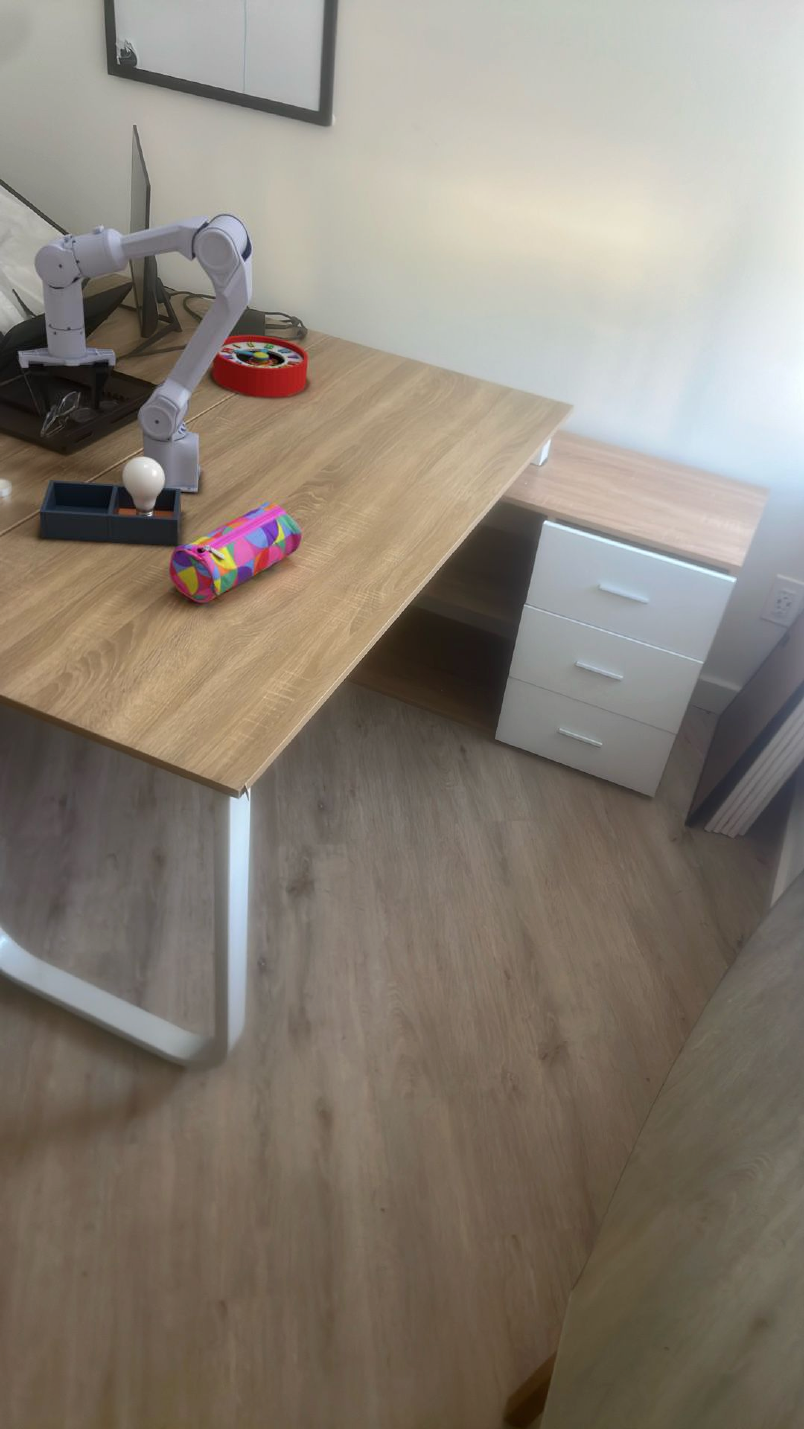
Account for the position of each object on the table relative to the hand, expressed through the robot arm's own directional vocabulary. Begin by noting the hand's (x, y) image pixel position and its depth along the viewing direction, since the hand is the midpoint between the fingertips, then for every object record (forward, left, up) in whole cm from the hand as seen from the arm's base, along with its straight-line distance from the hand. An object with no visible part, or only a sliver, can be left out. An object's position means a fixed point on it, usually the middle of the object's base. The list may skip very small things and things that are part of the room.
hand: (71, 408), depth 156 cm
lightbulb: (-13, +20, -10) cm, 25 cm away
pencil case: (-27, +33, -11) cm, 44 cm away
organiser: (-8, +20, -10) cm, 24 cm away
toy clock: (-32, -48, -11) cm, 59 cm away
